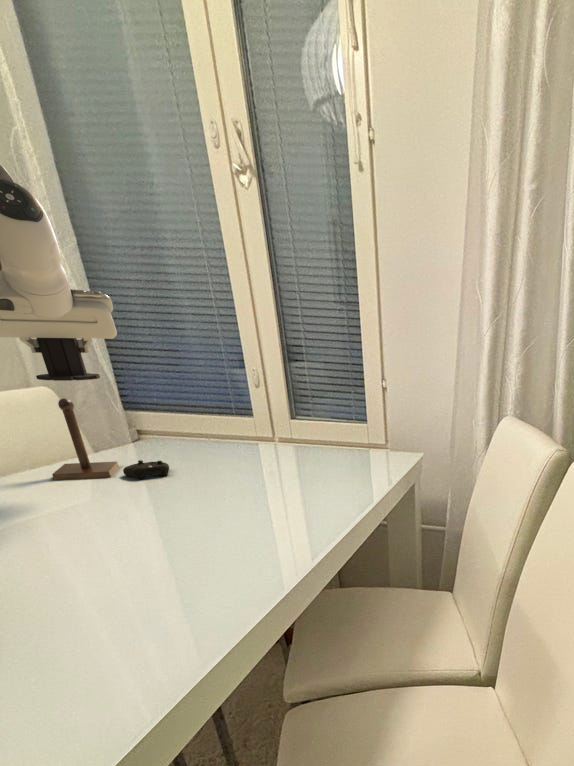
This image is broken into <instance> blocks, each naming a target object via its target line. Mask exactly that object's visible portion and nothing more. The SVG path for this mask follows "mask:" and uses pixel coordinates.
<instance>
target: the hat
mask: <svg viewBox="0 0 574 766" xmlns="http://www.w3.org/2000/svg"><path fill="white" fill-rule="evenodd" d="M36 339H37V341H38V344H39V346H40V349H41V353H40V354H41V356H42V359H43V362H44V365H45V368H46V372H47V373H43V374H42V373H41V374H37V375H35V377H36V380H39V381H54V382H55V381H57V382H58V381H62V382H65V381H66V382H67V381H69V382H71V381H89V380H91V381H92V380H97V379H100V378H101V376H100V374H98V373H91V372H87V370H86V366H85V363H84V359H83V356H82V353H80V350H79V347H78V344H77V340H78V338H36Z"/></svg>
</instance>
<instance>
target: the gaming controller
mask: <svg viewBox="0 0 574 766" xmlns="http://www.w3.org/2000/svg"><path fill="white" fill-rule="evenodd" d="M122 472H123V474H124V475H125V476H126V477H128V478H132V477H133V478H135V479H137V480H143V479H144V477H146V476H147V477H149V476H157V475H161V476H162V477H167V476H168V475H169V472H170V464H168V463H167V462H163V461H162V460H157V461H148V462H147V461H146V462H144V460H141V459H139V460H137V463H133V464H130V465H127V466H124V468H123V469H122Z"/></svg>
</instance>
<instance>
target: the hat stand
mask: <svg viewBox="0 0 574 766" xmlns="http://www.w3.org/2000/svg"><path fill="white" fill-rule="evenodd" d="M57 402H58V404H57V405H58V408H59V409H60V410H61V411H62V414H63V417H64V420H65V423H66V426H67V429H68V433H69V435H70V438H71V442H72V444H73V447H74V450H75V454H76V457H77V459H78V462H73V463H71V462H70V463H64V464H62V465H61V466H60V467H59V468H58V469H57V470H55V471H54V472H53V473H52V474H51V475H52V478H53V481H68V480H69V481H70V480H87V479H88V480H89V479H90V480H91V479H109V478H112V477H113V475H115V473H116V472H117V471H118V469H119V468H120V466H119V462H118V461H97V462H90V458H89V456H88V455H89V454H88V452H87V448H86V446H85V442H84V440H83V436H82V433H81V431H80V427H79V424H78V420H77V418H76V414H75V411H74V409H75V405H74V403H73V401H72V400H70V399H68V398H65V397H64V398H60V399H59V400H58V401H57Z"/></svg>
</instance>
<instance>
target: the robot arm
mask: <svg viewBox="0 0 574 766" xmlns="http://www.w3.org/2000/svg"><path fill="white" fill-rule="evenodd" d="M61 261H62V254H61V250H60V246H59V243H58V239H57V237H56V234H55V230H54V228H53V225H52V223H51V220H50V218H49V216H48V214H47V212H46V210H45V209H44V207H43V206H42V204H41V203H40V201H39V200H38V199H37V198H36V196H34V194H32V193H31V192H30V191H29V190H28V189H27V188H25V187H24V186H22V185H21V184H19V183H17V182H15V181H14V179H13V177H12V176H11V174H10V173H9V171H7V169H6V168H5V167H4V165H3V164H1V163H0V338H19V341H21V342H22V343H23V344H25V346H27V347H30V351H31V353H32V354H42V353H41V349H40V346H39V344H38V341H37V338H76V339H77V344H78V347H79V350H80V353H81V354H90V352H89V351H90V350H89V347H90V345H91V344H92V342H93V339H110V340H111V339H112V340H113V339H114V338H116V337H117V335H118V332H117V327H116V325H115V321H114V317H113V316H112V312H113V311H114V304H113V300H112V298H111V297H110V296H108V294H105V293H101V291H99V290H84V289H72V288H71V286H70V283H69V278H68V276H67V273H66V270H65V269H64V267H63V265H62V263H61Z"/></svg>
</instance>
